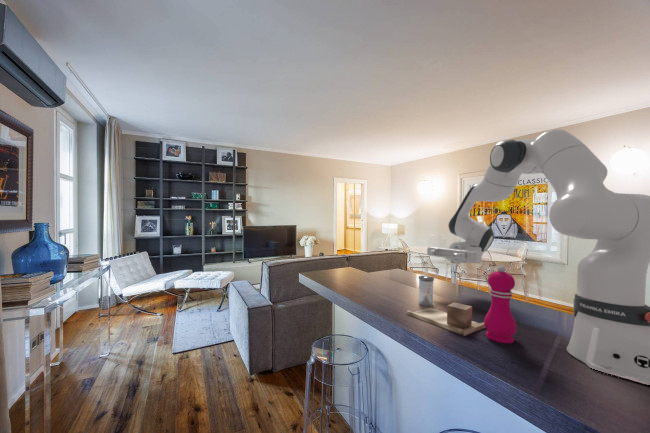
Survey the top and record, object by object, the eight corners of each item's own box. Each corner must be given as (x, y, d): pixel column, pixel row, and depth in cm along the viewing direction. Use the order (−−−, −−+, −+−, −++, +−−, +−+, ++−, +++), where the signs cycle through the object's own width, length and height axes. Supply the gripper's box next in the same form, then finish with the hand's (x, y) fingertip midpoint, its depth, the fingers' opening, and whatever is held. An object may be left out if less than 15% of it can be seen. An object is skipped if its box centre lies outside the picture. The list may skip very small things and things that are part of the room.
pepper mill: (485, 334, 77) (486, 262, 77) (516, 341, 73) (518, 265, 73) (482, 343, 71) (484, 265, 72) (516, 351, 67) (518, 269, 67)
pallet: (488, 330, 80) (488, 322, 80) (464, 340, 73) (464, 331, 73) (430, 311, 96) (430, 304, 96) (406, 317, 88) (406, 310, 88)
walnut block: (471, 327, 79) (472, 306, 79) (465, 332, 75) (466, 310, 75) (453, 322, 82) (454, 302, 82) (446, 326, 79) (447, 305, 79)
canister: (436, 308, 99) (437, 277, 99) (427, 310, 96) (428, 279, 96) (423, 304, 103) (424, 275, 104) (414, 306, 100) (415, 276, 101)
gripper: (436, 242, 125) (419, 243, 116) (485, 247, 109) (470, 249, 100) (436, 256, 125) (419, 258, 116) (485, 263, 109) (469, 266, 100)
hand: (443, 254), depth 108 cm, fingers open, 8 cm apart
